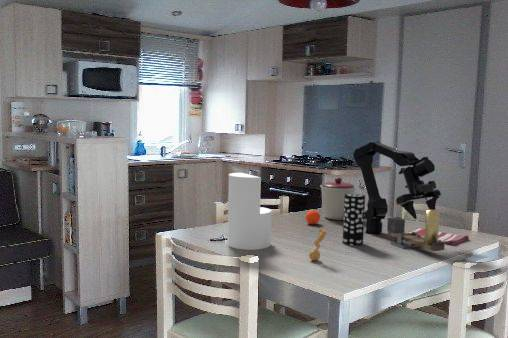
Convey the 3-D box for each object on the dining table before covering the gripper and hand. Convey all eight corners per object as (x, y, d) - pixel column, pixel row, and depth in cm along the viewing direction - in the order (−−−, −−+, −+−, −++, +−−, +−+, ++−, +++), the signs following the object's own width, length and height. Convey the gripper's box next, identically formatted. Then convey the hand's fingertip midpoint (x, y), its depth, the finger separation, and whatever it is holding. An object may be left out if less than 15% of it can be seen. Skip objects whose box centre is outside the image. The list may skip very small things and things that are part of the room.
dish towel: (454, 247, 212) (454, 241, 212) (400, 237, 228) (401, 231, 228) (469, 240, 225) (469, 234, 224) (417, 231, 240) (418, 225, 240)
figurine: (313, 257, 191) (314, 225, 190) (329, 259, 188) (330, 227, 187) (304, 262, 184) (306, 229, 182) (320, 265, 181) (322, 231, 179)
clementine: (301, 224, 247) (301, 210, 246) (305, 222, 253) (306, 207, 253) (317, 226, 244) (318, 211, 243) (321, 223, 251) (322, 209, 250)
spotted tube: (364, 242, 216) (366, 194, 213) (361, 246, 208) (363, 197, 206) (344, 240, 218) (346, 193, 216) (340, 244, 210) (342, 195, 208)
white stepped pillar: (239, 251, 196) (240, 178, 193) (220, 241, 212) (221, 173, 209) (278, 247, 204) (280, 176, 201) (258, 237, 219) (259, 171, 217)
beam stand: (390, 243, 213) (391, 231, 213) (411, 242, 217) (411, 230, 216) (403, 248, 206) (403, 235, 205) (423, 246, 209) (424, 234, 209)
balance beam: (386, 234, 220) (387, 217, 219) (396, 233, 222) (397, 217, 221) (433, 251, 193) (434, 232, 192) (444, 250, 195) (445, 231, 194)
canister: (315, 214, 273) (316, 175, 270) (348, 214, 275) (350, 175, 272) (323, 221, 255) (325, 179, 252) (359, 221, 257) (361, 179, 254)
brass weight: (425, 245, 196) (427, 211, 194) (422, 242, 201) (424, 208, 199) (439, 245, 195) (441, 211, 194) (436, 242, 200) (438, 209, 199)
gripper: (405, 177, 203) (418, 215, 199) (443, 171, 210) (456, 208, 205) (390, 186, 213) (401, 222, 208) (426, 180, 220) (438, 216, 215)
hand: (425, 217), depth 209 cm, fingers open, 9 cm apart
